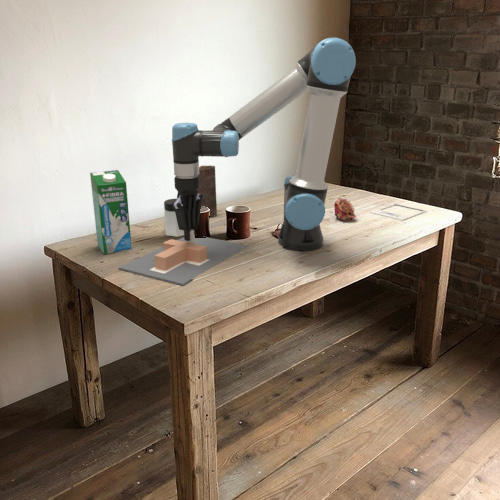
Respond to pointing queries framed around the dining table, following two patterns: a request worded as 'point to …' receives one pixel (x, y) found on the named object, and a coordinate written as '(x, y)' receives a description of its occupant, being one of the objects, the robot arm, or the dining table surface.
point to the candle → (208, 188)
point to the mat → (186, 269)
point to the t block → (179, 254)
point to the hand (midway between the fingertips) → (190, 249)
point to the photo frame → (393, 215)
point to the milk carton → (111, 211)
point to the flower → (344, 209)
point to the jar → (171, 219)
